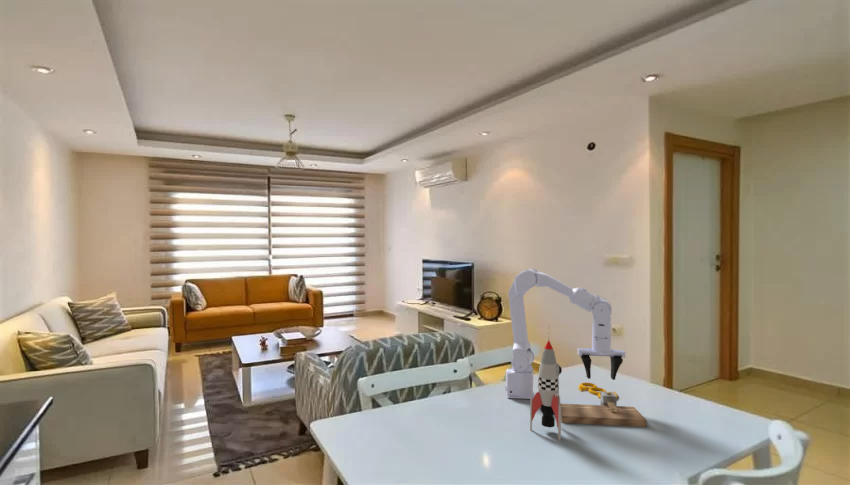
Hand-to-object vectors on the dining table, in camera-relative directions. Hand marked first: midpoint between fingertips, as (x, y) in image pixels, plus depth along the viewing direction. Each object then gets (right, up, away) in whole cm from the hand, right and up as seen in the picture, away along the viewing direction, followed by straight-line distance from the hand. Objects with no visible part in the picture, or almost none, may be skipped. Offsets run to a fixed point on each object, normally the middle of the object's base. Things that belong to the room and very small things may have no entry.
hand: (600, 378), depth 142 cm
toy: (-23, -10, -19) cm, 31 cm away
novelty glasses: (+4, -10, +14) cm, 17 cm away
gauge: (+1, -10, -5) cm, 11 cm away
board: (-4, -9, -9) cm, 13 cm away
